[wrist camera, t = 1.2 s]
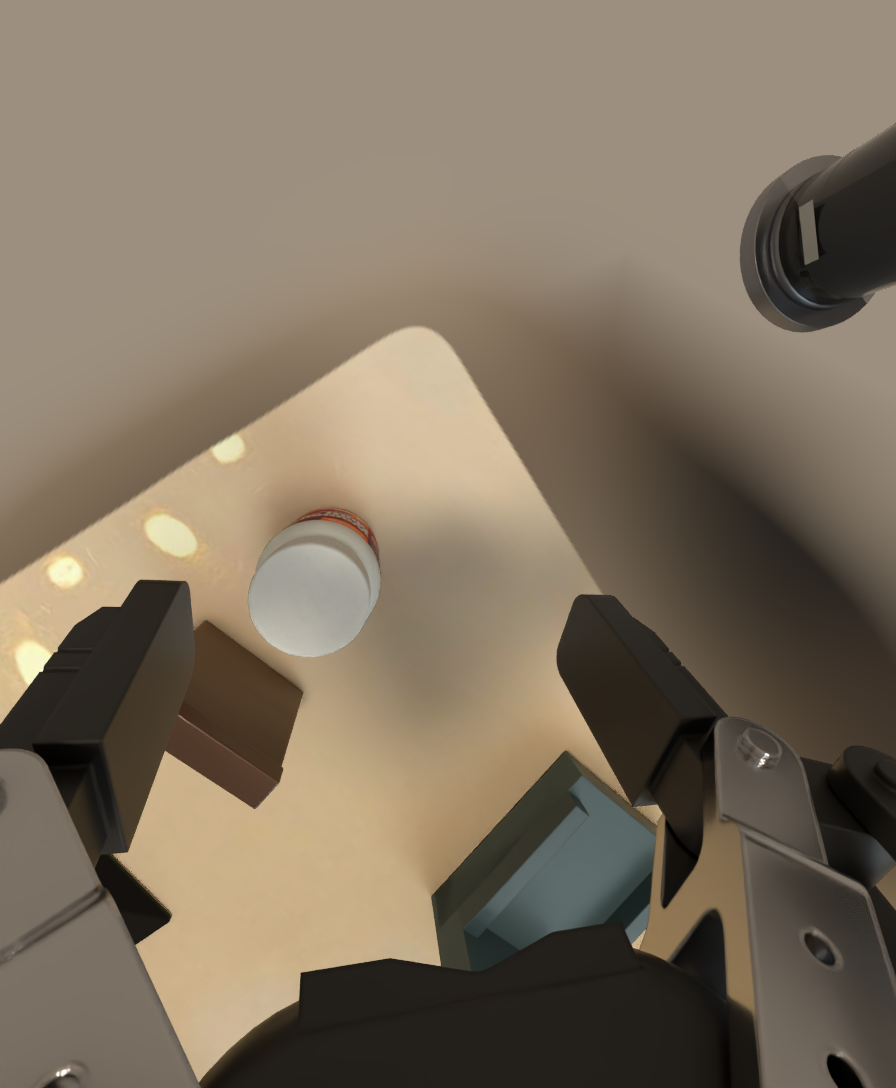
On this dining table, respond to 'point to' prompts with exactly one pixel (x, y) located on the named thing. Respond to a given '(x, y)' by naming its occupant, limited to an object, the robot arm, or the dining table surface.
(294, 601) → the pill bottle
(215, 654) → the brown t-shaped panel
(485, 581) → the dining table surface
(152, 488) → the dining table surface
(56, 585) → the dining table surface
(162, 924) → the black stand
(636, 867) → the sofa
